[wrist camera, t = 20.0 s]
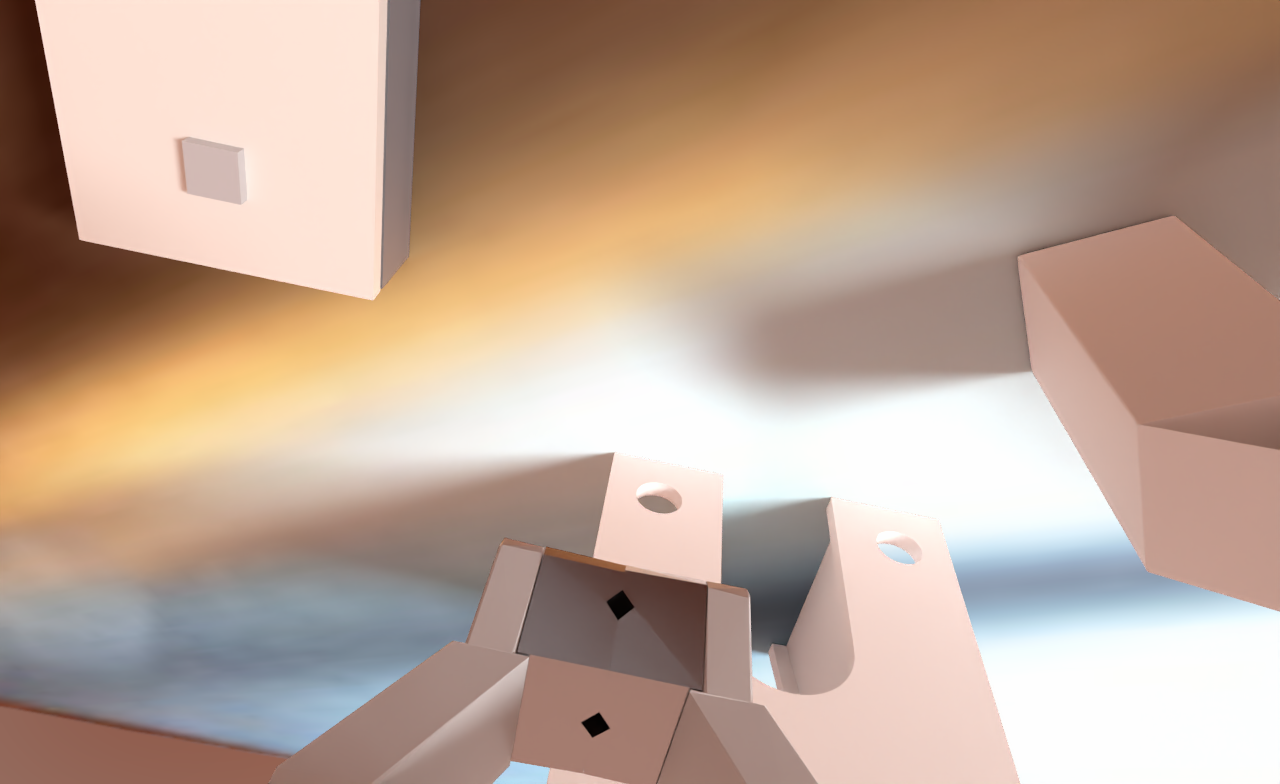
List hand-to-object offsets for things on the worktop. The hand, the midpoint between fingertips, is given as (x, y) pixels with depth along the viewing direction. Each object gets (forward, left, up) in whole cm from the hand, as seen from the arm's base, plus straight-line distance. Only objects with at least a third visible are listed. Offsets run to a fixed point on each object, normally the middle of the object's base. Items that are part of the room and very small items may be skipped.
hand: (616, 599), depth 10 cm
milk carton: (+7, +22, -33) cm, 41 cm away
